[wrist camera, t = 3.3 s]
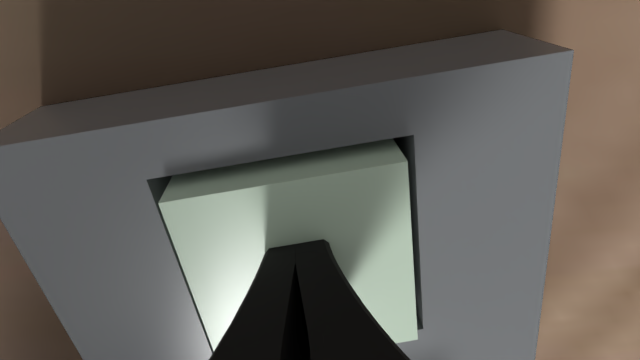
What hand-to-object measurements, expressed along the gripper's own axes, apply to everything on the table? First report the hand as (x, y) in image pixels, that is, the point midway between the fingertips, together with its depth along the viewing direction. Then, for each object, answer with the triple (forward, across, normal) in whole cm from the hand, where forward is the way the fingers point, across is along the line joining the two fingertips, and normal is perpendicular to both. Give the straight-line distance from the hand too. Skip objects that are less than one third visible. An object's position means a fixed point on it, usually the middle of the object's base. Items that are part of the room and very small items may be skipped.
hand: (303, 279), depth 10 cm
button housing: (+3, 0, +4) cm, 6 cm away
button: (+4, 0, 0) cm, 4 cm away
